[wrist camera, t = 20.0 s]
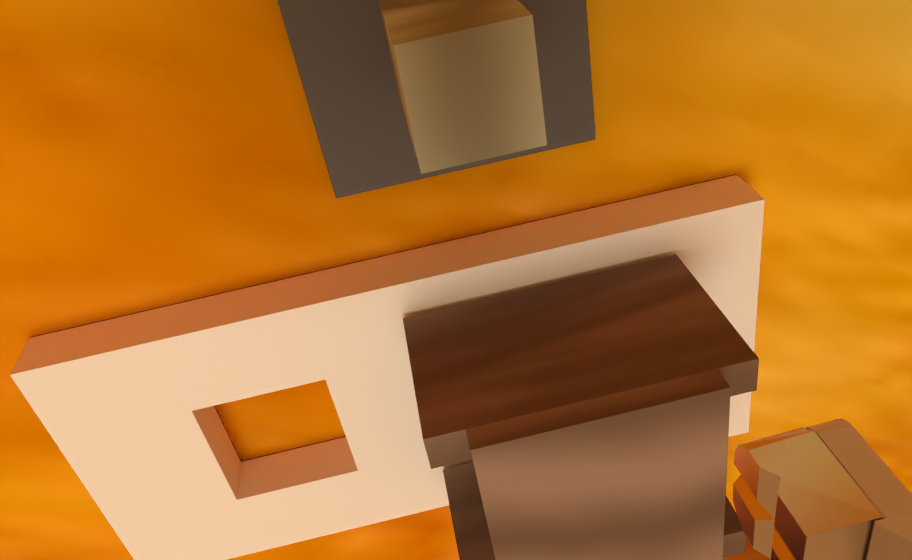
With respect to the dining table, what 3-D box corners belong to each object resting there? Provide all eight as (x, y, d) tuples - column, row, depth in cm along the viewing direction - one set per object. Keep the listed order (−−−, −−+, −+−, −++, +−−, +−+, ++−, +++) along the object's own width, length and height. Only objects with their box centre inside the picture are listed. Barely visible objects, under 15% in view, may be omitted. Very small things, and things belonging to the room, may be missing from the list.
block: (399, 98, 29) (421, 174, 23) (376, -9, 27) (393, 45, 21) (500, 75, 29) (547, 145, 23) (485, -33, 27) (532, 14, 21)
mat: (250, -97, 25) (249, -95, 25) (569, -165, 25) (574, -164, 25) (335, 192, 31) (336, 198, 31) (591, 134, 32) (595, 139, 31)
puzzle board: (29, 338, 33) (10, 374, 30) (736, 174, 34) (764, 199, 32) (155, 538, 40) (147, 578, 38) (726, 400, 42) (748, 432, 39)
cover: (402, 318, 32) (426, 461, 25) (676, 254, 32) (773, 377, 25) (448, 489, 38) (477, 642, 31) (677, 433, 38) (755, 572, 31)
